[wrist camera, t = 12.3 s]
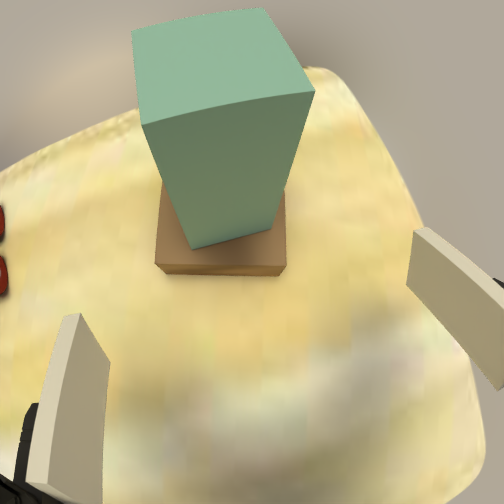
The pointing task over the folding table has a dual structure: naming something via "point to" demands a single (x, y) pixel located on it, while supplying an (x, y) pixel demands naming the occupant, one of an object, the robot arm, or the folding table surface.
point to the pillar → (221, 118)
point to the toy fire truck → (0, 269)
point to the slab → (219, 248)
